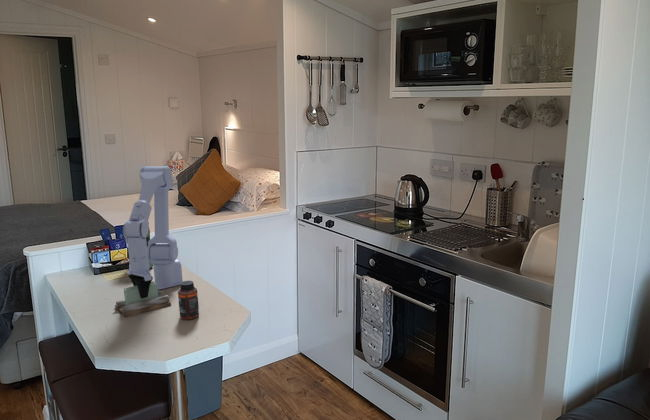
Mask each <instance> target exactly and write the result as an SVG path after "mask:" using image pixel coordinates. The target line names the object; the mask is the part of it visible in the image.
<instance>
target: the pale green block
mask: <svg viewBox="0 0 650 420" xmlns="http://www.w3.org/2000/svg"><path fill="white" fill-rule="evenodd" d="M158 291H159V289H158V287H157V283H155V280H152V281H151V284H150V287H149V293H148V297H146V298H141V297H140V294H139V290H138V287H137V285H136V286H127V287H124V288H123V294H124V299H125V306H126V305H130V304H134V303H138V302H142V301H145V300H149V299H153V298H157V297H158Z"/></svg>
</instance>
